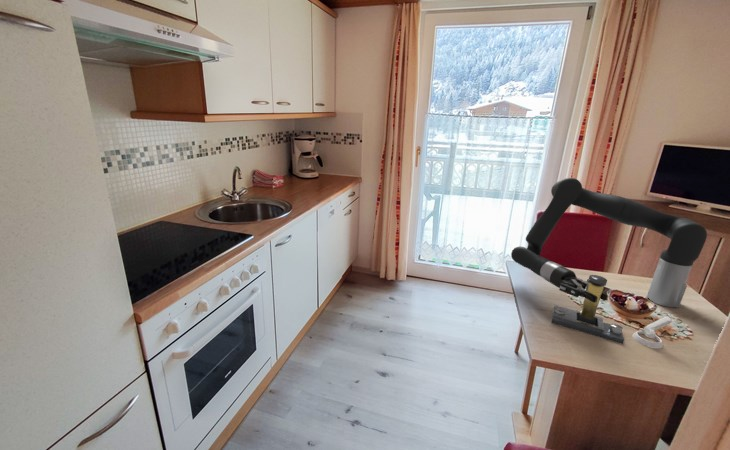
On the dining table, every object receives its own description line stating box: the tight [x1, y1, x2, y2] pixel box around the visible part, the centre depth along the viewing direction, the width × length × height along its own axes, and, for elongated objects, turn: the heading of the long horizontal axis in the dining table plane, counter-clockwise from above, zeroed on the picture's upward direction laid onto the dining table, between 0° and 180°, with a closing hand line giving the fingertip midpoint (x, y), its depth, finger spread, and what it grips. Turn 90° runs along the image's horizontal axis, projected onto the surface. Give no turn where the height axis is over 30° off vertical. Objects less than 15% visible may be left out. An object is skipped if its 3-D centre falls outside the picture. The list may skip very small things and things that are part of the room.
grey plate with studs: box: [551, 304, 625, 345], centre depth 111 cm, size 20×8×3 cm, turn 58°
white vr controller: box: [632, 316, 673, 349], centre depth 104 cm, size 8×12×7 cm
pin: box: [580, 274, 608, 319], centre depth 108 cm, size 5×5×14 cm
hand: (601, 298), depth 105 cm, fingers closed on pin, 4 cm apart
